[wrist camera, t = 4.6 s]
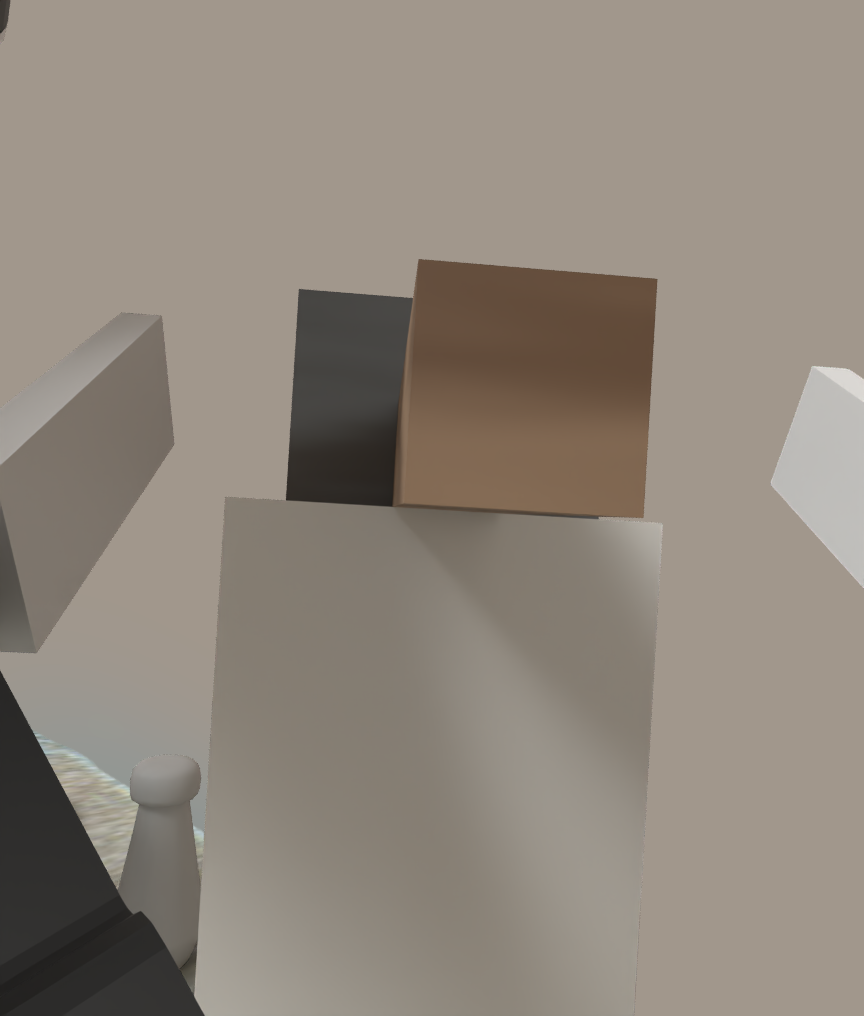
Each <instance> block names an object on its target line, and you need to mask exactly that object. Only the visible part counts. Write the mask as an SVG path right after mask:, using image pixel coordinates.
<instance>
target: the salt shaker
mask: <svg viewBox="0 0 864 1016" xmlns="http://www.w3.org/2000/svg"><path fill="white" fill-rule="evenodd" d="M200 783H201V774H200V768H199V765H198V763H196V762H195V761H194V760H193V759H191V758H189V757H187V756H182V755H159V756H152V757H149V758H146V759H143V760H142V761H141V762H140V763H139V764H137V766H135V767H134V768H133V770H132V774H131V778H130V796H131V799H132V801H134V802H136V803H138V804H139V807H138V812H137V816H136V821H135V825H134V829H133V834H132V837H131V841H130V845H129V849H128V853H127V857H126V861H125V865H124V869H123V872H122V876H121V880H120V884H119V888H118V893H119V895H120V896H121V898H122V900H123V901H124V903H125V905H126V906H127V908H128V909H129V910H130V911H131V912H132V913H133V914H135V913H137V912H139V911H142V912H143V914H144V915H145V916H146V917H147V918H148V919H149V920H150V921H151V922H152V924H153V925H154V927H155V929H156V930H157V932H158V933H159V935H160V937H161V938H162V940H163V942H164V943H165V945H166V946H167V948H168V950H169V952H170V954H171V955H172V957H173V959H174V961H175V963H176V964H177V966H178V968H179V969H180V968H181V967H182V966H183V965H184V964H185V963H186V962H187V961H188V960H189V958H190V955H191V953H192V951H193V949H194V947H195V945H196V943H197V941H198V927H199V911H200V895H201V887H200V879H199V871H198V863H197V855H196V847H195V839H194V831H193V823H192V815H191V807H190V800H192V799H193V798H194V797H195V796H196V795H197V794H198V791H199V789H200Z"/></svg>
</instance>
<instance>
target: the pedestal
mask: <svg viewBox="0 0 864 1016" xmlns="http://www.w3.org/2000/svg"><path fill="white" fill-rule="evenodd" d="M662 525H663V523H649V522H632V521H616V520H600V519H584V518H567V517H551V516H534V515H518V514H501V513H484V512H468V511H451V510H435V509H418V508H402V507H385V506H369V505H352V504H336V503H319V502H303V501H285V500H269V499H252V498H236V497H225V510H224V525H223V541H222V557H221V575H220V589H219V605H218V621H217V637H216V654H215V670H214V686H213V702H212V718H211V734H210V750H209V767H208V783H207V799H206V814H205V831H204V847H203V863H202V879H201V895H200V911H199V927H198V943H197V959H196V975H195V991H194V997H195V999H196V1001H197V1002H198V1004H199V1006H200V1008H201V1010H202V1011H203V1013H204V1015H205V1016H634V1008H635V992H636V975H637V957H638V939H639V923H640V904H641V888H642V871H643V853H644V837H645V820H646V802H647V785H648V768H649V767H648V766H649V750H650V734H651V716H652V699H653V682H654V664H655V648H656V630H657V613H658V596H659V579H660V561H661V544H662Z"/></svg>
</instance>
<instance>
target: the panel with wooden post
mask: <svg viewBox="0 0 864 1016" xmlns="http://www.w3.org/2000/svg"><path fill="white" fill-rule="evenodd" d="M656 290H657V279H651V278H639V277H627V276H615V275H603V274H590V273H579V272H567V271H555V270H542V269H530V268H519V267H507V266H494V265H483V264H471V263H458V262H446V261H434V260H422V259H419V261H418V269H417V275H416V282H415V290H414V296H413V298H404V297H391V296H377V295H366V294H353V293H341V292H328V291H314V290H303V289H299V297H298V313H297V329H296V330H297V331H296V346H295V362H294V378H293V394H292V395H293V396H292V412H291V428H290V444H289V460H288V477H287V492H286V501H303V502H319V503H336V504H352V505H369V506H385V507H402V508H418V509H435V510H451V511H468V512H484V513H501V514H518V515H534V516H551V517H567V518H584V519H598V517H633V518H634V517H635V518H643V516H644V515H643V514H644V498H645V481H646V464H647V447H648V429H649V413H650V396H651V377H652V361H653V344H654V327H655V309H656V293H657V291H656Z"/></svg>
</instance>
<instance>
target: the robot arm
mask: <svg viewBox="0 0 864 1016" xmlns="http://www.w3.org/2000/svg"><path fill="white" fill-rule="evenodd" d="M9 7H10V0H0V43H2V42H3V40H4V36H5V32H6V28H7V22H8V15H9ZM173 446H174V436H173V426H172V416H171V406H170V395H169V386H168V375H167V365H166V355H165V343H164V333H163V323H162V316H159V315H146V314H133V313H120V314H119V315H118V316H116V317H115V318H114V319H113V320H111V321H110V322H109V323H108V324H106V325H105V326H104V327H103V328H101V329H100V330H99V331H98V332H96V333H95V334H94V335H92V336H91V337H90V338H89V339H87V340H86V341H85V342H84V343H82V344H81V345H80V346H78V347H77V348H76V349H75V350H73V351H72V352H71V353H70V354H68V355H67V356H66V357H64V358H63V359H62V360H61V361H59V362H58V363H57V364H56V365H54V366H53V367H52V368H50V369H49V370H48V371H47V372H46V373H44V374H43V375H42V376H40V377H39V378H38V379H36V380H35V381H34V382H33V383H32V384H30V385H29V386H28V387H26V388H25V389H24V390H23V391H21V392H20V393H19V394H18V395H16V396H15V397H14V398H12V399H11V400H10V401H9V402H7V403H6V404H5V405H3V406H2V407H1V408H0V652H18V653H37V652H38V650H39V649H40V647H41V646H42V644H43V643H44V641H45V640H46V638H47V637H48V635H49V634H50V632H51V631H52V629H53V627H54V626H55V625H56V623H57V622H58V620H59V618H60V617H61V616H62V614H63V612H64V611H65V609H66V608H67V606H68V605H69V603H70V602H71V600H72V599H73V597H74V596H75V594H76V593H77V591H78V590H79V588H80V587H81V585H82V584H83V582H84V581H85V579H86V578H87V576H88V575H89V573H90V571H91V570H92V568H93V567H94V565H95V564H96V562H97V561H98V559H99V558H100V556H101V555H102V553H103V552H104V550H105V549H106V547H107V546H108V544H109V543H110V541H111V540H112V538H113V537H114V535H115V534H116V532H117V531H118V529H119V527H120V526H121V524H122V523H123V521H124V520H125V518H126V517H127V515H128V514H129V512H130V511H131V509H132V508H133V506H134V505H135V503H136V502H137V500H138V498H139V497H140V495H141V494H142V493H143V491H144V490H145V488H146V487H147V485H148V484H149V482H150V480H151V479H152V477H153V476H154V474H155V473H156V471H157V470H158V468H159V467H160V465H161V464H162V462H163V461H164V459H165V458H166V456H167V455H168V453H169V452H170V450H171V449H172V447H173ZM770 484H771V486H773V488H774V489H775V490H776V491H777V492H778V493H779V494H780V495H781V497H782V498H783V499H784V500H785V501H786V502H787V503H788V505H790V507H791V508H792V509H793V510H794V511H795V512H796V513H797V515H798V516H799V517H800V518H801V519H802V520H803V521H804V522H805V523H806V525H807V526H808V527H809V528H810V529H811V530H812V531H813V532H814V533H815V535H816V536H817V537H818V538H819V539H820V540H821V541H822V542H823V544H824V545H825V546H826V547H827V548H828V549H829V550H830V551H831V552H832V554H833V555H834V556H835V557H836V558H837V559H838V560H839V561H840V562H841V564H842V565H843V566H844V567H845V568H846V569H847V570H848V571H849V573H850V574H851V575H852V576H853V577H854V578H855V579H856V580H857V582H858V583H859V584H860V585H861V586H862V587H863V588H864V379H863V378H861V377H859V376H858V375H857V374H855V373H853V372H852V371H851V370H849V369H844V368H831V367H818V366H812V368H811V371H810V374H809V377H808V379H807V382H806V385H805V388H804V391H803V393H802V396H801V399H800V402H799V405H798V408H797V410H796V413H795V416H794V419H793V421H792V424H791V427H790V430H789V433H788V436H787V438H786V441H785V444H784V447H783V450H782V452H781V455H780V458H779V461H778V463H777V466H776V469H775V472H774V475H773V477H772V480H771V483H770ZM0 1016H205V1015H204V1013H203V1011H202V1010H201V1008H200V1006H199V1004H198V1002H197V1001H196V999H195V997H194V995H193V993H192V992H191V990H190V988H189V986H188V984H187V983H186V981H185V979H184V977H183V975H182V973H181V972H180V970H179V968H178V966H177V964H176V963H175V961H174V959H173V957H172V955H171V954H170V952H169V950H168V948H167V946H166V945H165V943H164V942H163V940H162V938H161V937H160V935H159V933H158V932H157V930H156V929H155V927H154V925H153V924H152V922H151V921H150V920H149V919H148V918H147V917H146V916H145V915H144V914H143V912H142V911H139V912H137V913H135V914H133V913H132V912H131V911H130V910H129V909H128V908H127V906H126V905H125V903H124V901H123V900H122V898H121V896H120V895H119V893H118V891H117V889H116V887H115V885H114V883H113V881H112V880H111V878H110V876H109V874H108V872H107V870H106V868H105V866H104V865H103V863H102V861H101V859H100V857H99V855H98V853H97V851H96V849H95V848H94V846H93V844H92V842H91V840H90V838H89V836H88V834H87V833H86V831H85V829H84V827H83V825H82V823H81V821H80V819H79V818H78V816H77V814H76V812H75V810H74V808H73V806H72V804H71V803H70V801H69V799H68V797H67V795H66V793H65V791H64V789H63V788H62V786H61V784H60V782H59V780H58V778H57V776H56V774H55V773H54V771H53V769H52V767H51V765H50V763H49V761H48V759H47V758H46V756H45V754H44V752H43V750H42V748H41V746H40V744H39V743H38V741H37V739H36V737H35V735H34V733H33V731H32V729H31V728H30V726H29V724H28V722H27V720H26V718H25V716H24V714H23V712H22V711H21V709H20V707H19V705H18V703H17V701H16V699H15V698H14V696H13V694H12V692H11V690H10V688H9V686H8V684H7V682H6V681H5V679H4V677H3V675H2V673H1V671H0Z"/></svg>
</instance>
